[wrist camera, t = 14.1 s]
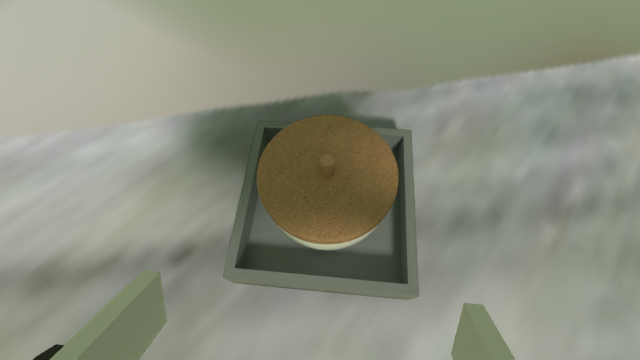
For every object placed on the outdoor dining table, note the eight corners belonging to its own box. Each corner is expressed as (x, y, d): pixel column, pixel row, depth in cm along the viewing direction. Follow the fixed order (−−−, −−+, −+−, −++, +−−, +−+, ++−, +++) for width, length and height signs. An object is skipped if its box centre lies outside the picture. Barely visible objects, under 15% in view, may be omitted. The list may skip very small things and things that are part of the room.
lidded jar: (250, 207, 30) (220, 160, 22) (327, 142, 33) (327, 78, 25) (327, 289, 26) (326, 271, 18) (405, 207, 30) (436, 160, 21)
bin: (403, 148, 33) (411, 129, 30) (408, 299, 27) (418, 296, 24) (264, 139, 34) (257, 120, 31) (234, 282, 28) (222, 277, 24)
